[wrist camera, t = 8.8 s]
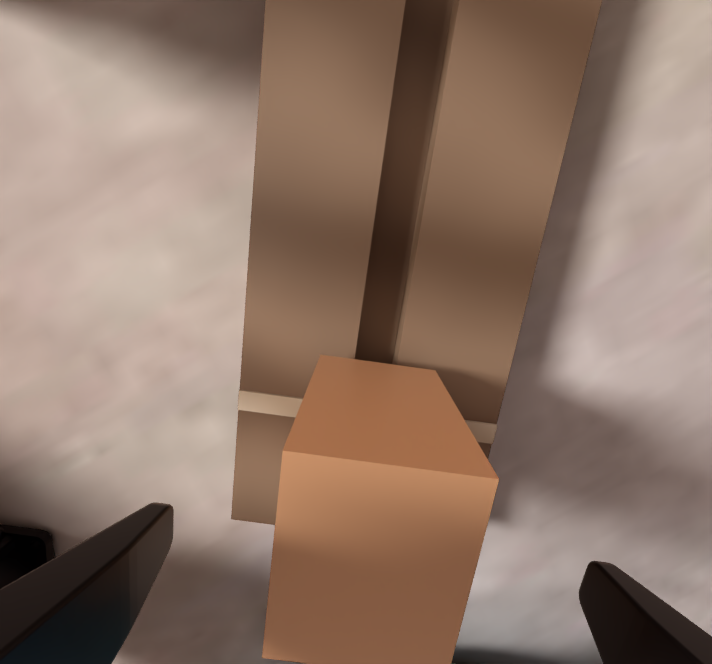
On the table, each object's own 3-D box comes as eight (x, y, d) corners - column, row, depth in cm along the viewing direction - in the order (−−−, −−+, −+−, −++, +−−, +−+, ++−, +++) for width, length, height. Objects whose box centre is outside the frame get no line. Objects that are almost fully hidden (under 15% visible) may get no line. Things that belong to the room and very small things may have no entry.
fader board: (451, 508, 18) (465, 551, 15) (249, 481, 18) (230, 520, 15) (578, -42, 13) (632, -114, 10) (293, -85, 12) (275, -169, 10)
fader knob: (404, 460, 16) (446, 680, 8) (313, 448, 16) (262, 657, 8) (424, 352, 15) (498, 479, 7) (327, 338, 15) (282, 450, 7)
